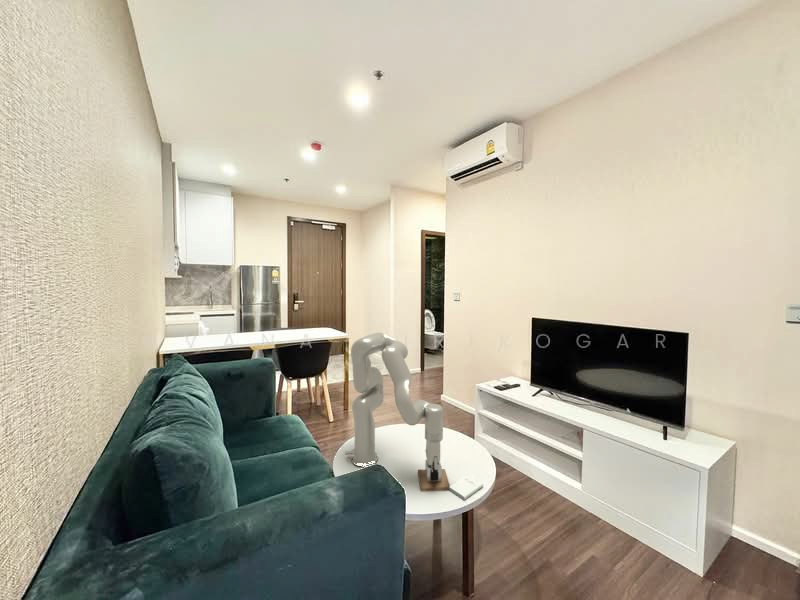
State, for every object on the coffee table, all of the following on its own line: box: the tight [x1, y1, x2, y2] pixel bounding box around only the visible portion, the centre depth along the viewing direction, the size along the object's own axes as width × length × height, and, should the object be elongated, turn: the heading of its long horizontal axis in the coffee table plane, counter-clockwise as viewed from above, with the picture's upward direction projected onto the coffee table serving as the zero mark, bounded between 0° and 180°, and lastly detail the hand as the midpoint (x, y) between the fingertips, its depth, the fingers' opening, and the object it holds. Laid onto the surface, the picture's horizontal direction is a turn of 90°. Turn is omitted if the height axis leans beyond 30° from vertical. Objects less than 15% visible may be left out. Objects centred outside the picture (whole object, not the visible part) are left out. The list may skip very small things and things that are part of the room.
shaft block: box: [417, 465, 451, 492], centre depth 138 cm, size 12×12×6 cm
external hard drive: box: [448, 474, 484, 501], centre depth 134 cm, size 2×8×12 cm
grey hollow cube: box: [424, 459, 443, 482], centre depth 138 cm, size 6×6×6 cm
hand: (433, 474), depth 138 cm, fingers closed on grey hollow cube, 6 cm apart
